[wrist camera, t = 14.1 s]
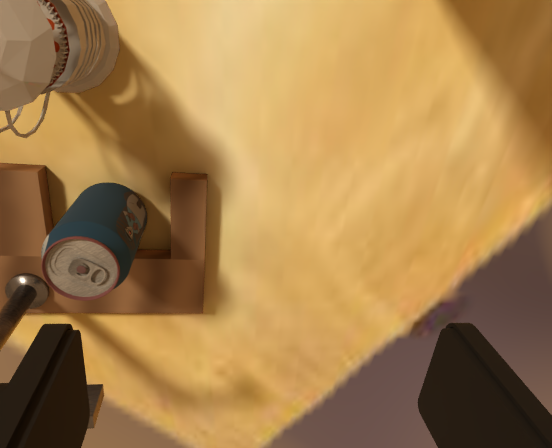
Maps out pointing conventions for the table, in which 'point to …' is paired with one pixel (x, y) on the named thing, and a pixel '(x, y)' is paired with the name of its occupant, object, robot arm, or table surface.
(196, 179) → the u-shaped wooden block
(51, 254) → the soda can
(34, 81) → the french press
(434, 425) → the robot arm
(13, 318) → the knobbed metal rod
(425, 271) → the table surface
